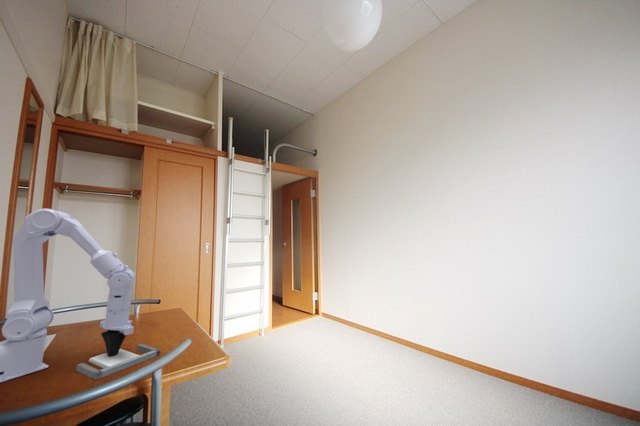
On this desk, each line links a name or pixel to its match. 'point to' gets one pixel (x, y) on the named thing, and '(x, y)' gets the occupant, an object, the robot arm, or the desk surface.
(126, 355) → the hard drive
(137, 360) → the drive bay
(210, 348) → the desk surface
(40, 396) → the desk surface
